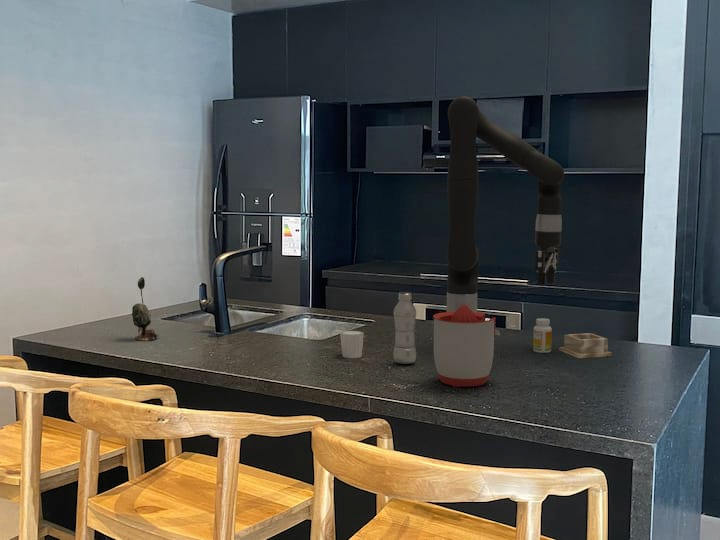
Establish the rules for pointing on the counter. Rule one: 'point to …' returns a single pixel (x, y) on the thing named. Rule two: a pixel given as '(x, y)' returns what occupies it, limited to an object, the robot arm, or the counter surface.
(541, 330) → the supplement bottle
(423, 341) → the counter surface
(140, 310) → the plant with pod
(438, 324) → the citrus juicer
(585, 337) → the open square wooden box
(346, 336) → the shot glass
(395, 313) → the plastic bottle
